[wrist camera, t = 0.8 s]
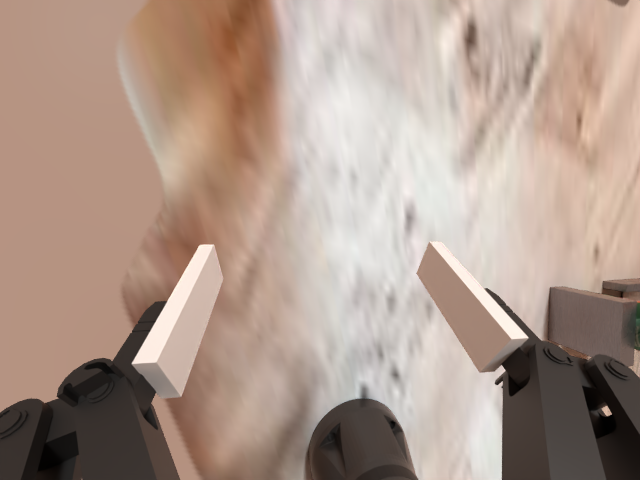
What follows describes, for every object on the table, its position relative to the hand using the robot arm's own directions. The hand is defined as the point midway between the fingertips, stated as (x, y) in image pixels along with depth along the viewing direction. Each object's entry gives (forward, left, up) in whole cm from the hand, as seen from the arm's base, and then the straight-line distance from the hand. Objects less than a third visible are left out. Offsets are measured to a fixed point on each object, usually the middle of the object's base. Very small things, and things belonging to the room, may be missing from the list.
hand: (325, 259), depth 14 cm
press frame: (-14, -60, -19) cm, 65 cm away
